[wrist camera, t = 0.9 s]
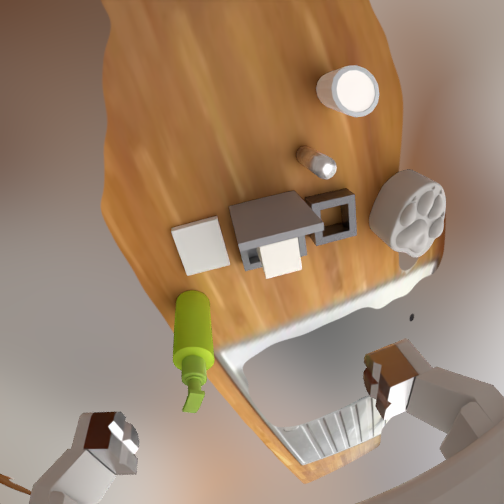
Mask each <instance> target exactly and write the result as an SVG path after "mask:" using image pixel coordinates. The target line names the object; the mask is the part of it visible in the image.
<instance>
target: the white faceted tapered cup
mask: <svg viewBox="0 0 504 504" xmlns="http://www.w3.org/2000/svg"><path fill="white" fill-rule="evenodd" d="M316 91H317V96H318V98H319V100H320V101H321V103H323V104H324V105H325V106H326V107H329V108H331V109H334V110H336V111H339V112H342V113H344V114H347V115H350V116H353V117H361V116H366V115H367V114H369V113H370V112H372V111H373V109H374V108H375V106H376V105H377V103H378V98H379V89H378V84H377V82H376V80H375V78H374V76H373V75H372V74H371V73H370V72H369V71H367V70H366V69H365V68H362V67H359V66H346V67H343V68H340V69H337V70H334V71H331V72H329V73H326V74H325V75H323V76H321V78H320V79H319V80H318V82H317V87H316Z"/></svg>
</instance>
